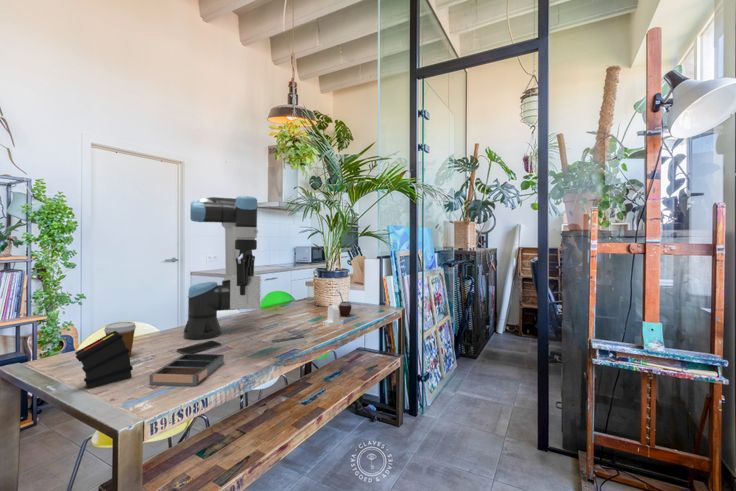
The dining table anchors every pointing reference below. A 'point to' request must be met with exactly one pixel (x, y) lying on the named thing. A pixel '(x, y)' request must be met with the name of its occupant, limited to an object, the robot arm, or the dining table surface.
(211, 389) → the dining table surface
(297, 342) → the multiport hub
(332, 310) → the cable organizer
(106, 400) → the dining table surface
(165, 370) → the slot rack
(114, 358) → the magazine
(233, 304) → the panel
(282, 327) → the dining table surface
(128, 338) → the disposable coffee cup
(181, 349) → the phone
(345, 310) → the mate gourd
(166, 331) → the dining table surface
